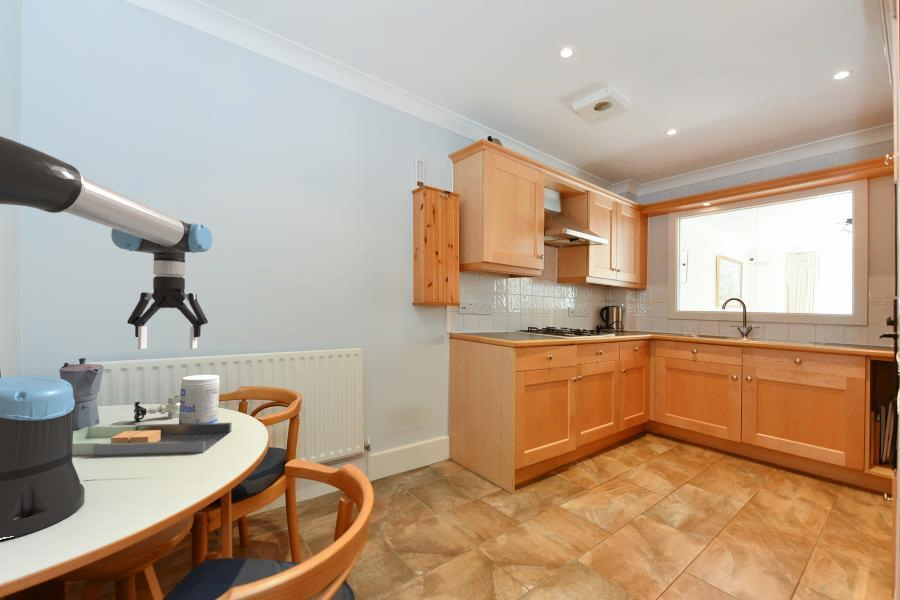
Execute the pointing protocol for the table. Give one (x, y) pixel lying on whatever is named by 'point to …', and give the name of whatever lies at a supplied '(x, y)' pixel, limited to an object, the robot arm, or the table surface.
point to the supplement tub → (199, 399)
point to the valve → (159, 409)
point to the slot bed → (169, 440)
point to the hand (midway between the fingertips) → (168, 348)
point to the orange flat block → (146, 436)
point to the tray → (95, 437)
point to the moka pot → (84, 391)
